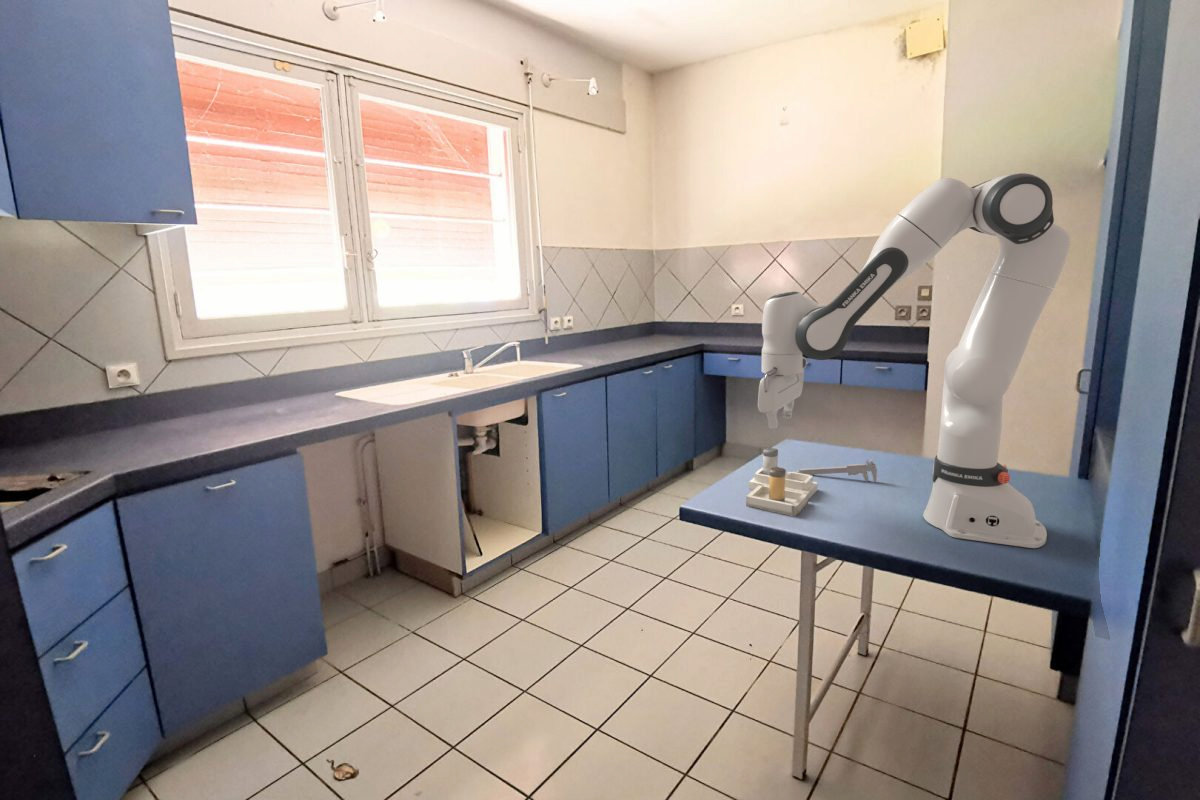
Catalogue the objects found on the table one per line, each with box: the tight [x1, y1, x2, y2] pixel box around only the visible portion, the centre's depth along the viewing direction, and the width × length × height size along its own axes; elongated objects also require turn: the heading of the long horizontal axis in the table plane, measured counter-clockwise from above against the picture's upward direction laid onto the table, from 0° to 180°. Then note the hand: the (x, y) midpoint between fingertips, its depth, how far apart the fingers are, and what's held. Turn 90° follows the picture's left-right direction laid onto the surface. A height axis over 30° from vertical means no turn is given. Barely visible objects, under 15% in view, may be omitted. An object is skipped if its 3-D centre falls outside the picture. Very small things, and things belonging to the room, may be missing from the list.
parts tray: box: [745, 484, 809, 517], centre depth 144 cm, size 12×9×2 cm
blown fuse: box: [769, 466, 787, 502], centre depth 143 cm, size 4×4×8 cm
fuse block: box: [748, 447, 819, 501], centre depth 152 cm, size 15×8×10 cm, turn 55°
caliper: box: [795, 459, 878, 483], centre depth 159 cm, size 20×1×6 cm, turn 65°
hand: (780, 423), depth 139 cm, fingers open, 8 cm apart
